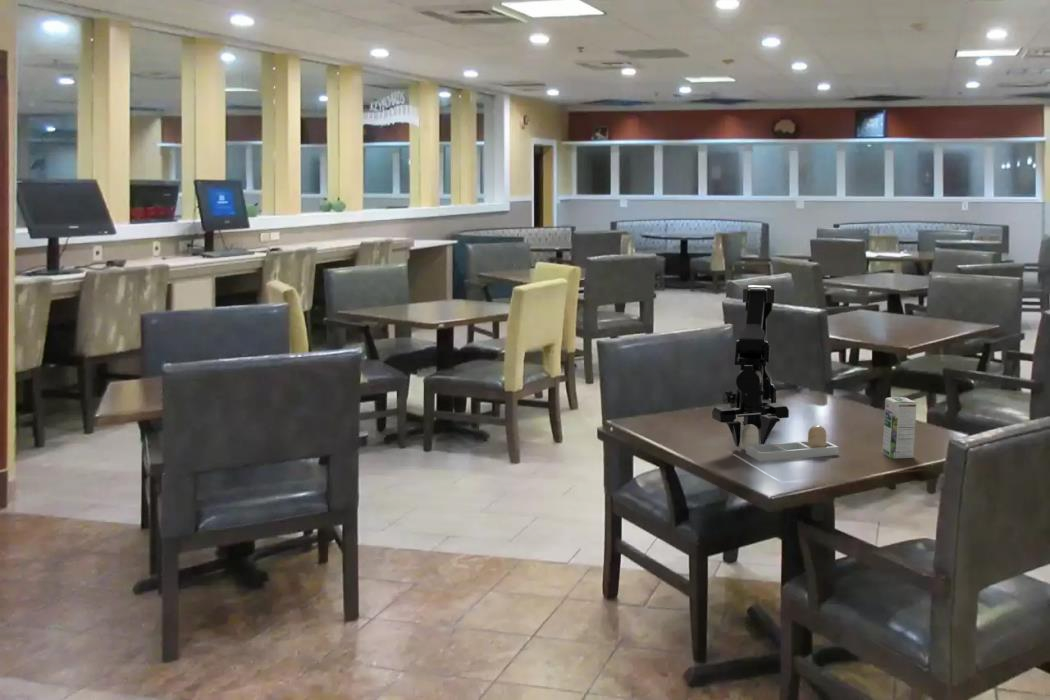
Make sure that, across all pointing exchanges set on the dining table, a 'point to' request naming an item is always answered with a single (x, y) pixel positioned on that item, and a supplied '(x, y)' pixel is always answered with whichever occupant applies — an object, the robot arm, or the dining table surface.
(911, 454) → the syrup box
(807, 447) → the divided compartment tray
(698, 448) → the dining table surface
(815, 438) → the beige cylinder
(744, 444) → the white capsule shape
